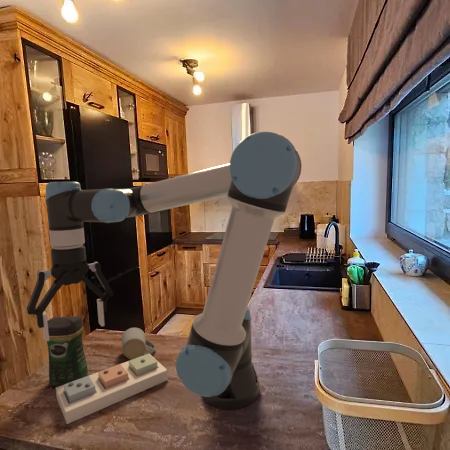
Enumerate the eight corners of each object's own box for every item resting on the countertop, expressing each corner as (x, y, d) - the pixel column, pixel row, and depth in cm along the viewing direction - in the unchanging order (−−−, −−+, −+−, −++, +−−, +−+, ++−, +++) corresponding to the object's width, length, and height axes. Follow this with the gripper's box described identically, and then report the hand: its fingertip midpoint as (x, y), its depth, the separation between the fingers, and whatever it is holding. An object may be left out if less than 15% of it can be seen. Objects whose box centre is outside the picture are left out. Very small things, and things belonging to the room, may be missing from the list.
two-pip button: (128, 383, 86) (127, 372, 85) (106, 393, 82) (105, 381, 82) (120, 373, 91) (120, 363, 90) (99, 382, 87) (98, 371, 87)
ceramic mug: (122, 363, 100) (121, 339, 99) (122, 350, 107) (121, 328, 106) (157, 356, 103) (156, 334, 102) (154, 345, 111) (153, 323, 110)
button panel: (167, 380, 90) (167, 369, 89) (66, 424, 74) (65, 412, 74) (149, 362, 99) (149, 353, 99) (56, 398, 83) (55, 387, 83)
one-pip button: (157, 371, 91) (157, 360, 91) (137, 380, 87) (136, 368, 87) (148, 363, 96) (148, 352, 95) (129, 370, 92) (128, 359, 92)
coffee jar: (92, 371, 95) (86, 311, 93) (78, 388, 87) (72, 323, 85) (60, 371, 96) (54, 312, 94) (44, 388, 88) (37, 323, 86)
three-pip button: (96, 397, 81) (94, 385, 80) (70, 407, 77) (69, 395, 77) (89, 386, 85) (88, 374, 85) (64, 395, 82) (63, 383, 81)
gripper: (113, 238, 87) (118, 314, 90) (6, 251, 73) (16, 340, 75) (123, 241, 81) (128, 322, 84) (8, 256, 67) (19, 353, 70)
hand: (75, 331), depth 80 cm, fingers open, 12 cm apart
